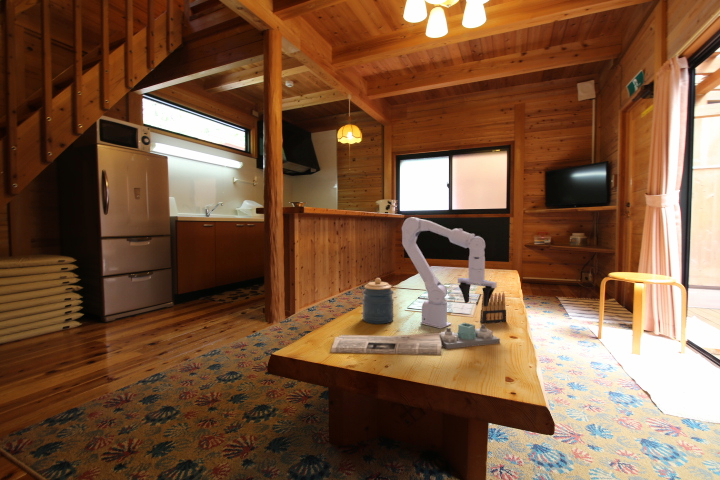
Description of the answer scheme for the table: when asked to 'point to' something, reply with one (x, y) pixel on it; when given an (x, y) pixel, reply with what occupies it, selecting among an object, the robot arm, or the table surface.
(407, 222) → the robot arm
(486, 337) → the gear board
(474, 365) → the table surface
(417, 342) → the newspaper
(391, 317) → the canister
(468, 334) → the teal gear
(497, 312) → the ammunition clip
